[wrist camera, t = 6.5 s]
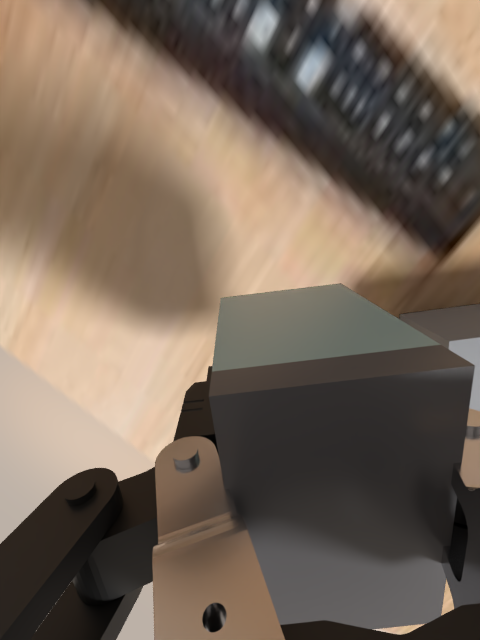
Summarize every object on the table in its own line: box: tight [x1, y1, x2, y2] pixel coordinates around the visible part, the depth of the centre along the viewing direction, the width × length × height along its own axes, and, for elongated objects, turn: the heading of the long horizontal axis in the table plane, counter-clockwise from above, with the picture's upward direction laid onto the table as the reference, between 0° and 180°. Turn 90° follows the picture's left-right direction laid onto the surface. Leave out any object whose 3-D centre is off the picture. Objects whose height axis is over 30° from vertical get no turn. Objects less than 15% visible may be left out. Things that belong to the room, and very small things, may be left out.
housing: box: [209, 284, 475, 629], centre depth 8 cm, size 6×4×6 cm, turn 7°
